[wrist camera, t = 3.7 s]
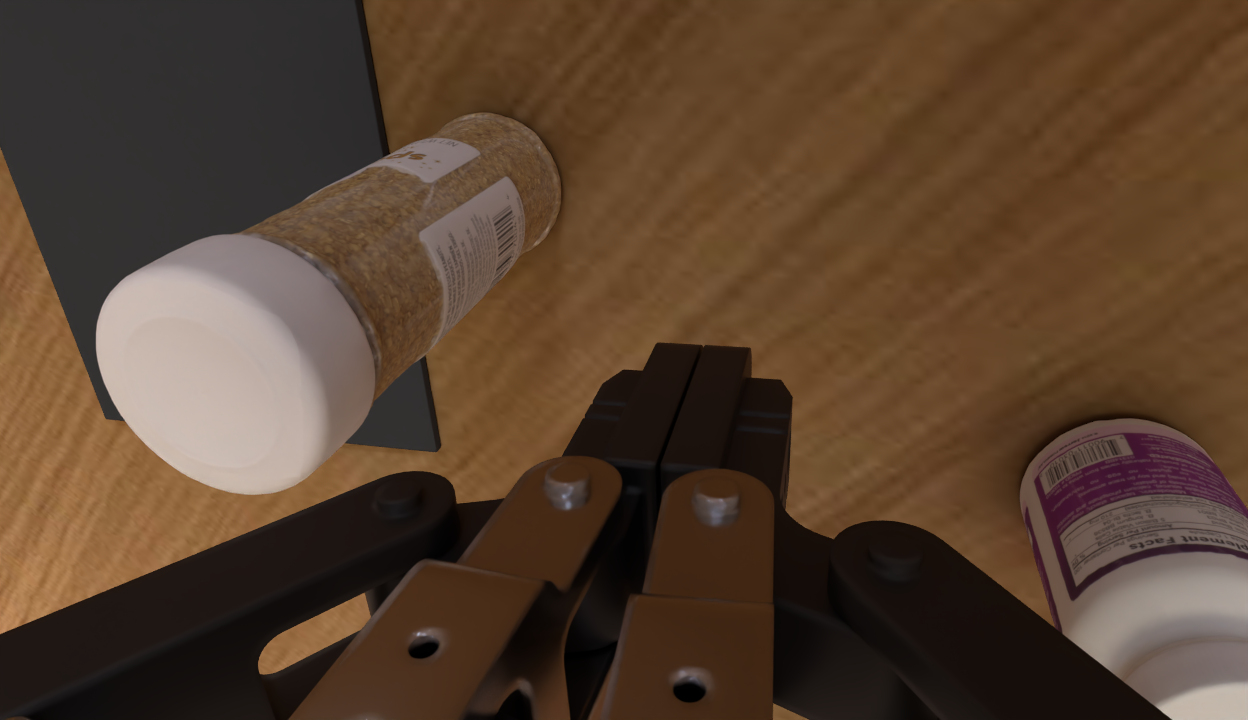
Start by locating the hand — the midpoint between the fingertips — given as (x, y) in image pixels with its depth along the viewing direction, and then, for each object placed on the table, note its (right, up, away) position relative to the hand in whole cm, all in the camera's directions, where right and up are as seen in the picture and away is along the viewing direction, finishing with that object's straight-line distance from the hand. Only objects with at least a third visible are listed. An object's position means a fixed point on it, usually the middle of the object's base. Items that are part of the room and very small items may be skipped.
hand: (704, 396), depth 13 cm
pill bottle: (+14, -3, +12) cm, 18 cm away
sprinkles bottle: (-5, +6, +12) cm, 15 cm away
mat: (-16, +7, +15) cm, 23 cm away
